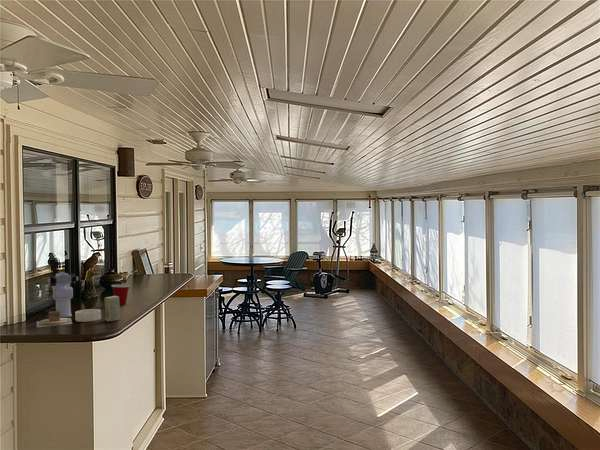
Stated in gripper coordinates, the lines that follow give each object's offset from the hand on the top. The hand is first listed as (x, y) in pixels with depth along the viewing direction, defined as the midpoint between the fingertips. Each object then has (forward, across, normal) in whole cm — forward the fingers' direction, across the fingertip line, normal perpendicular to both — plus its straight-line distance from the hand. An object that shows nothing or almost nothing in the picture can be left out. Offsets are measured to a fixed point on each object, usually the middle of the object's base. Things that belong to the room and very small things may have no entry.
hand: (64, 280), depth 267 cm
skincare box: (+5, +22, +23) cm, 32 cm away
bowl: (-3, +11, +22) cm, 24 cm away
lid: (-3, -5, +21) cm, 22 cm away
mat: (-3, -5, +21) cm, 22 cm away
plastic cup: (-43, +33, +19) cm, 57 cm away
